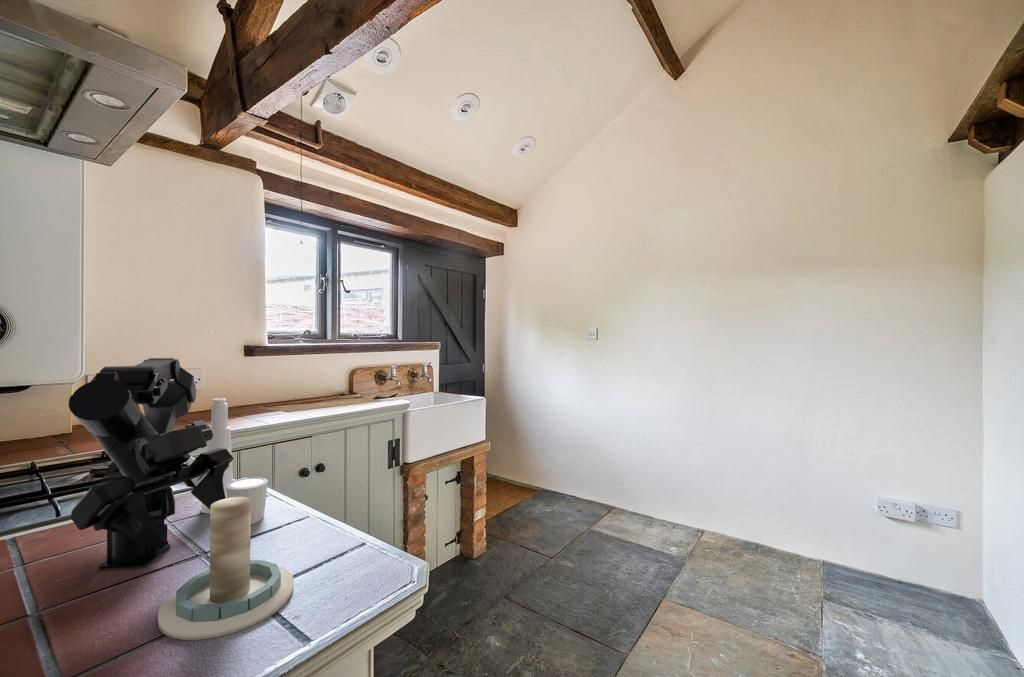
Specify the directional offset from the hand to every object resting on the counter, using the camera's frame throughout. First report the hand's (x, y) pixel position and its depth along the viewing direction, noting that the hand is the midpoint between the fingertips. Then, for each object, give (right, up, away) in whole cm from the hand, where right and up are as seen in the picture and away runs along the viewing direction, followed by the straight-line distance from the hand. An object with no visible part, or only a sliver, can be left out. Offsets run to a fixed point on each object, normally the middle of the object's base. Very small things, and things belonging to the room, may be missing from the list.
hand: (198, 530), depth 60 cm
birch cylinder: (+5, -8, -2) cm, 9 cm away
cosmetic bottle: (-16, -8, +29) cm, 34 cm away
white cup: (-8, -8, +24) cm, 27 cm away
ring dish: (+5, -9, -2) cm, 10 cm away
